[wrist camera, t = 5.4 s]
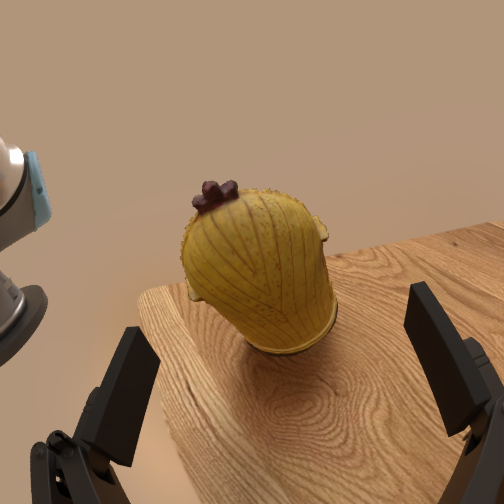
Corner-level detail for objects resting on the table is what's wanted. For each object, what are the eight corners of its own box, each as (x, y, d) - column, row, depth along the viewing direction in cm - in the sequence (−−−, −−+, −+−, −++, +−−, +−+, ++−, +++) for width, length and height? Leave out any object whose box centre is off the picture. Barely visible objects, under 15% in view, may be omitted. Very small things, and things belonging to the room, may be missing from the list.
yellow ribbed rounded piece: (338, 407, 16) (329, 170, 8) (221, 404, 18) (121, 205, 11) (336, 296, 25) (319, 128, 18) (252, 301, 27) (210, 146, 20)
